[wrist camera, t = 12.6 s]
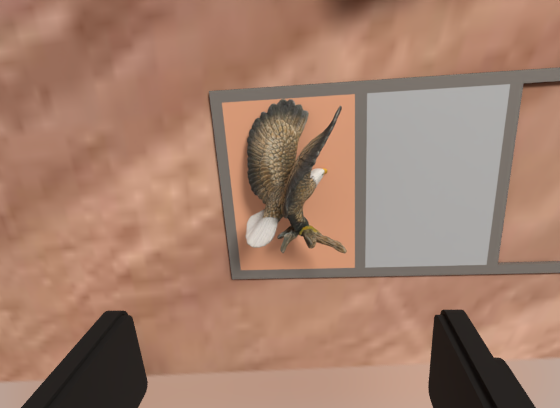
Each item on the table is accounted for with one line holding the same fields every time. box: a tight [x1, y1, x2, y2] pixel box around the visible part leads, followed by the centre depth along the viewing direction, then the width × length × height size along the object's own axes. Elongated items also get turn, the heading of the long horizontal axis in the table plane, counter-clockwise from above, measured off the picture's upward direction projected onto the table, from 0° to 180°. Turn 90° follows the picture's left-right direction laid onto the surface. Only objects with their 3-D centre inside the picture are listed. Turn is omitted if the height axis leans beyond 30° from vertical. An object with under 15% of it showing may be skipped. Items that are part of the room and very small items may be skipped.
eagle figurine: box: [245, 99, 347, 253], centre depth 24 cm, size 8×7×9 cm
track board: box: [209, 68, 560, 279], centre depth 26 cm, size 30×15×1 cm, turn 94°
